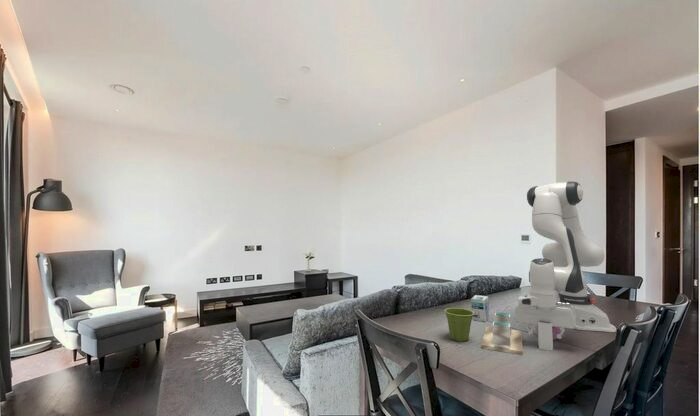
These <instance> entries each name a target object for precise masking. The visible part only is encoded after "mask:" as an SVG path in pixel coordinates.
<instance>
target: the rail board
mask: <svg viewBox="0 0 700 416" xmlns="http://www.w3.org/2000/svg"><path fill="white" fill-rule="evenodd" d="M511 321H512V320H511V314H510V313H507V312H498V311H497V312H495V313H494V321H492V326H485V330H484V334H483V338H482V341H481V345H480V347H481V349H484V350H491V351H496V352H497V351H498V352H504V353H508V354H509V353H510V354H514V355H515V354H516V355H520V356H523V352H524V350H523V337H522V330H517V329H511V327H512V326H511V325H512V323H511Z"/></svg>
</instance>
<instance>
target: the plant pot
mask: <svg viewBox="0 0 700 416" xmlns="http://www.w3.org/2000/svg"><path fill="white" fill-rule="evenodd" d="M444 313H445V316H446V319H447V324H448V325H447V326H448V330H449V331H448V332H449V338H450V339H451V340H453V341H454V340H455V341H457V342H467V341H469V337H470V331H471V325H472V321H473V320H472V317H473V315H474V312H473V311H472V310H470V309H466V308H460V307H459V308H458V307H449V308H445V309H444Z"/></svg>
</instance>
